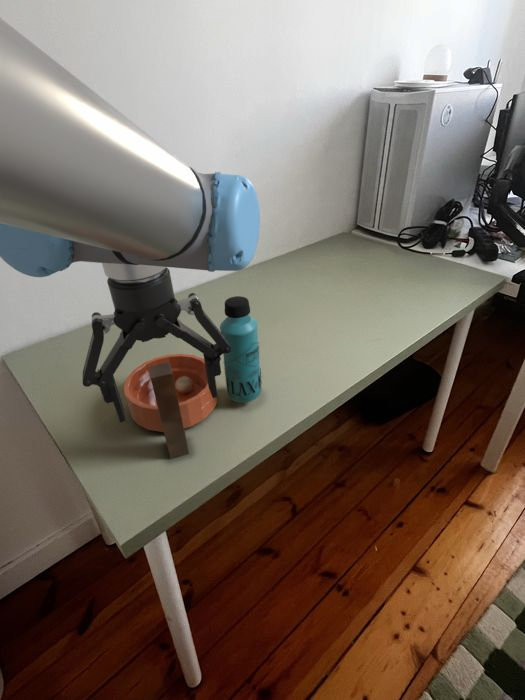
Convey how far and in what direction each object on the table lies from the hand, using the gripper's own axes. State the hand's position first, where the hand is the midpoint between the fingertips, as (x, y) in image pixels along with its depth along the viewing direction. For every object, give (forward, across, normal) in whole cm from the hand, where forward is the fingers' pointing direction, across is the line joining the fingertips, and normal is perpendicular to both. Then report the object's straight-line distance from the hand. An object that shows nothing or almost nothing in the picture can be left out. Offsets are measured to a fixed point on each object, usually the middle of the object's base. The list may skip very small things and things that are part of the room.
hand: (168, 403), depth 64 cm
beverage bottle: (+10, -14, -8) cm, 19 cm away
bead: (+7, -4, -13) cm, 15 cm away
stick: (+10, 0, 0) cm, 10 cm away
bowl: (+10, -1, -11) cm, 15 cm away
